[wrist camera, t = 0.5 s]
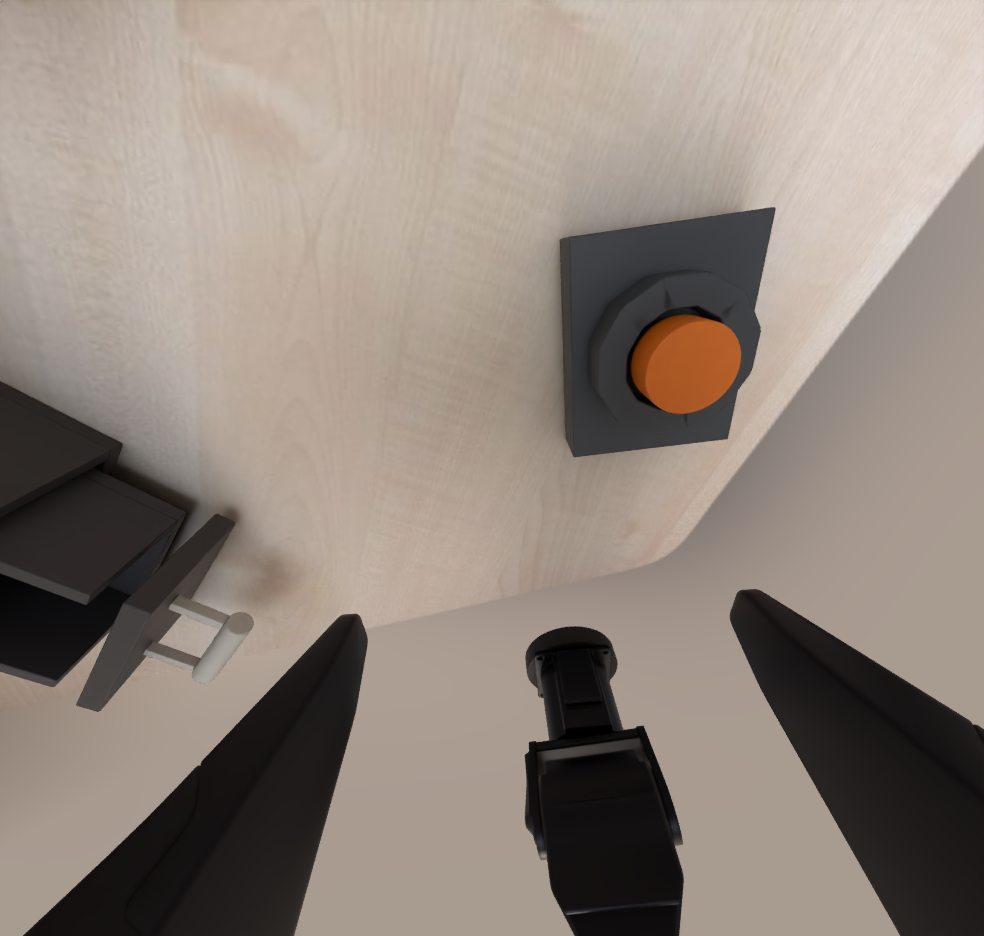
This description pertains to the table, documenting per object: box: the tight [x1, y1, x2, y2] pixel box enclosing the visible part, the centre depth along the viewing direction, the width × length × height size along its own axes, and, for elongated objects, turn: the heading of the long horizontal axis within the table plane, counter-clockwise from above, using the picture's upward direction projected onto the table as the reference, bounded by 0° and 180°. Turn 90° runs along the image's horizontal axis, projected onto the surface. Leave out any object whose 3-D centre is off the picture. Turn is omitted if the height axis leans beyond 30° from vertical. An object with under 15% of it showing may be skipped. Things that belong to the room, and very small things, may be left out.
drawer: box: [0, 468, 254, 712], centre depth 21 cm, size 17×10×7 cm, turn 51°
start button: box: [631, 314, 741, 414], centre depth 15 cm, size 4×4×2 cm
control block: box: [560, 207, 776, 457], centre depth 17 cm, size 10×8×4 cm
